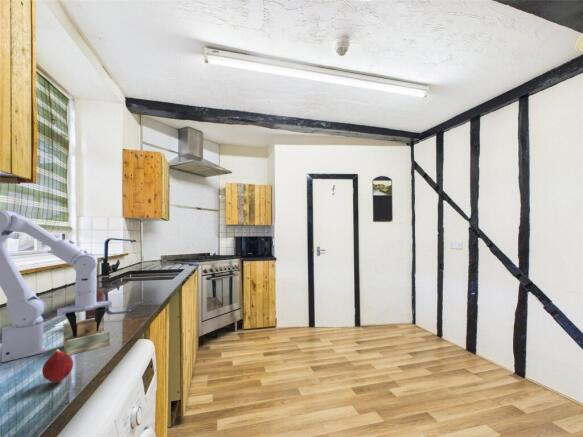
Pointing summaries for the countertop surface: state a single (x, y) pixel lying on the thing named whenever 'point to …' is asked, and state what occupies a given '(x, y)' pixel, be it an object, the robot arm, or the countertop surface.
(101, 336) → the wooden cubby shelf
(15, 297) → the robot arm
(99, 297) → the can
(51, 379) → the onion
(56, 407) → the countertop surface
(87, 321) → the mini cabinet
